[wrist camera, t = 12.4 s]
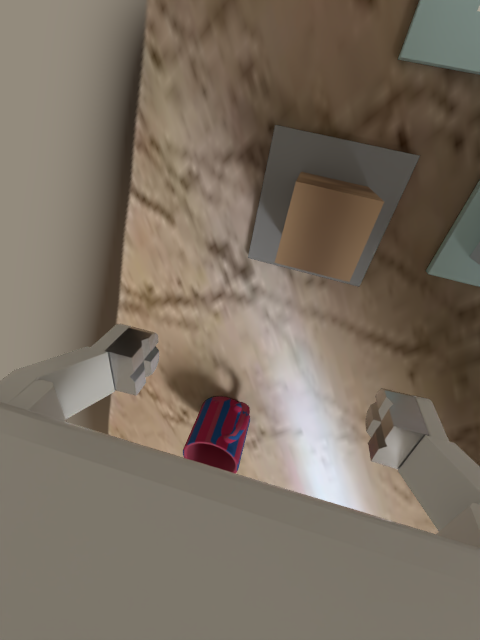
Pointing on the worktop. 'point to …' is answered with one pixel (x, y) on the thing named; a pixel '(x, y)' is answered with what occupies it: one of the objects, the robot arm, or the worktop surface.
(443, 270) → the code tile
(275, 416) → the worktop surface
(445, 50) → the code tile
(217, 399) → the mug
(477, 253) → the blue-grey block
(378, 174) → the slate coaster
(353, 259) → the walnut block
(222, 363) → the worktop surface
